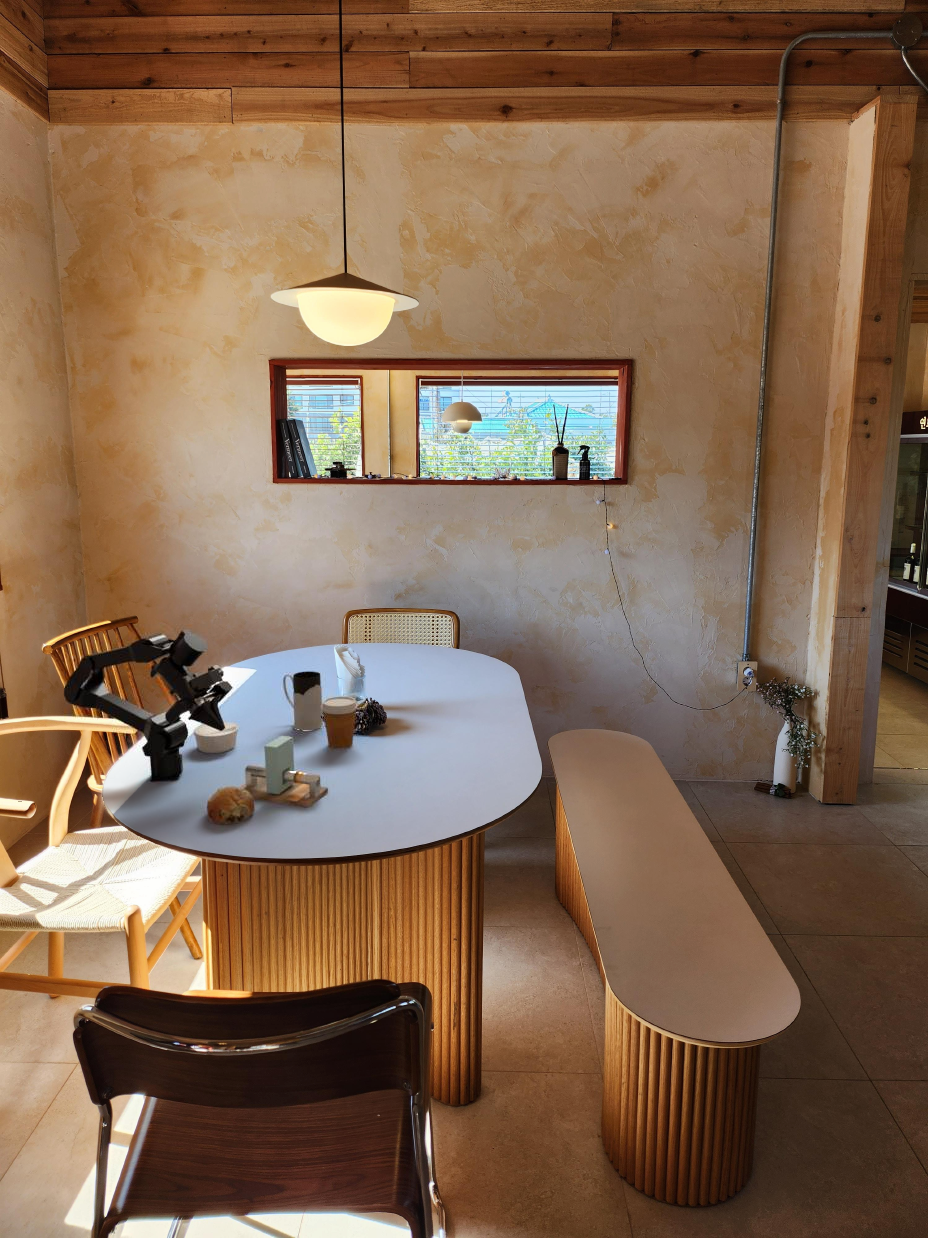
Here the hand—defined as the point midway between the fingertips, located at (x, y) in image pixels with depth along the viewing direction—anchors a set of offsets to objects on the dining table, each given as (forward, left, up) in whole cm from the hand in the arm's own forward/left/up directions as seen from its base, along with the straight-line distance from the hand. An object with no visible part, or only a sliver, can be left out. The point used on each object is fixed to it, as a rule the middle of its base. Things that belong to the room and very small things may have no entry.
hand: (223, 729), depth 191 cm
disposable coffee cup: (+27, +22, -14) cm, 38 cm away
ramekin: (-5, +26, -14) cm, 30 cm away
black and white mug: (+17, +41, -14) cm, 47 cm away
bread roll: (+2, -17, -14) cm, 22 cm away
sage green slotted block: (+13, -7, -12) cm, 19 cm away
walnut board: (+13, -7, -14) cm, 20 cm away
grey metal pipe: (+13, -8, -13) cm, 20 cm away
